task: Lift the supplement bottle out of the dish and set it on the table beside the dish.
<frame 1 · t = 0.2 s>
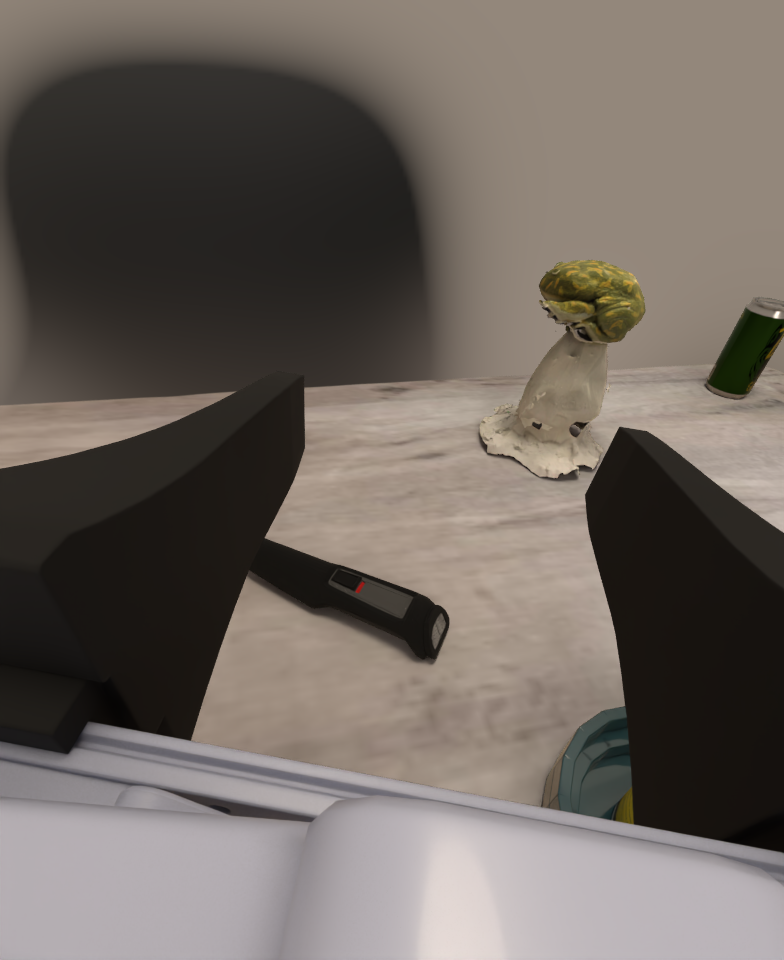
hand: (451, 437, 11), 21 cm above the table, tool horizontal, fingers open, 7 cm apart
supplement bottle: (662, 856, 23), resting on dish
green soda can: (724, 391, 66), on the table
cream tall figure: (536, 445, 51), on the table
dish: (661, 857, 23), on the table
electric trimmer: (341, 606, 33), on the table
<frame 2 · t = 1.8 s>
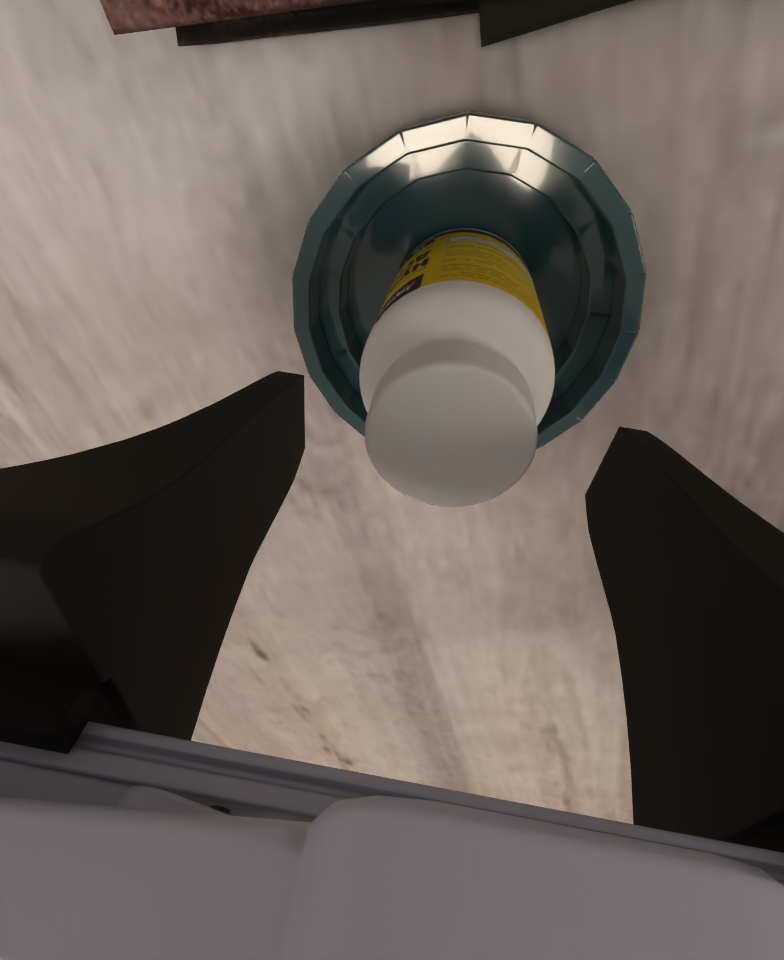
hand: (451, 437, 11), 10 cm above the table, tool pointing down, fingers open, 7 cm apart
supplement bottle: (460, 300, 18), resting on dish
dish: (460, 299, 18), on the table
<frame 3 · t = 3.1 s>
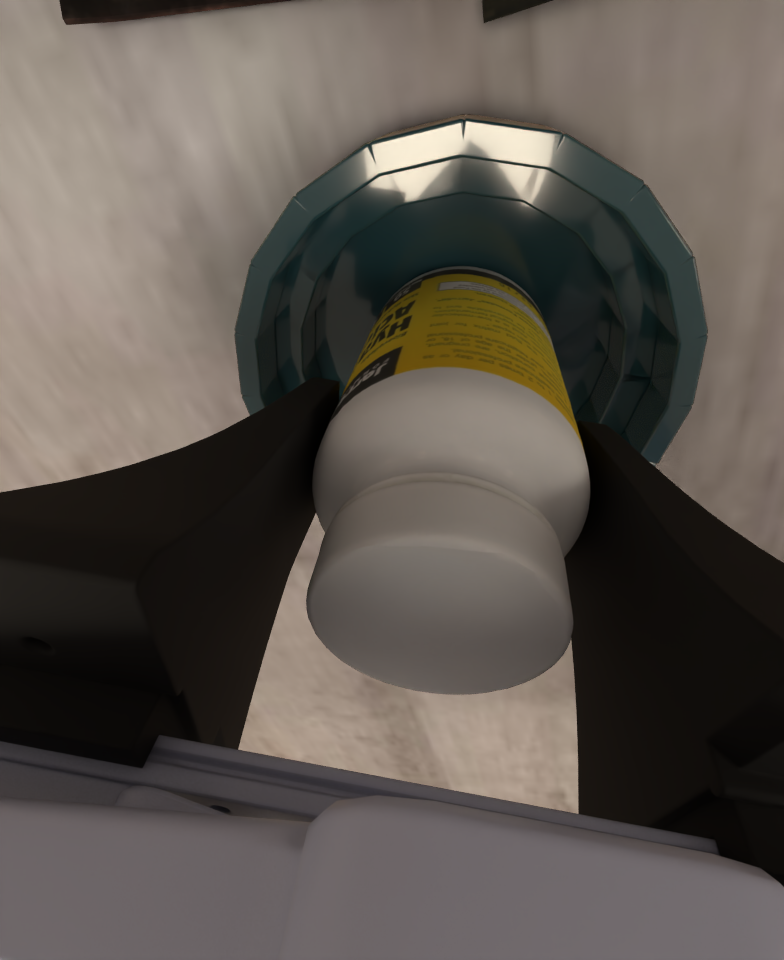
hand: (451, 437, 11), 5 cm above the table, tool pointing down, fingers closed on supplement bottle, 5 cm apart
supplement bottle: (455, 351, 15), resting on dish, touching gripper
dish: (456, 350, 15), on the table
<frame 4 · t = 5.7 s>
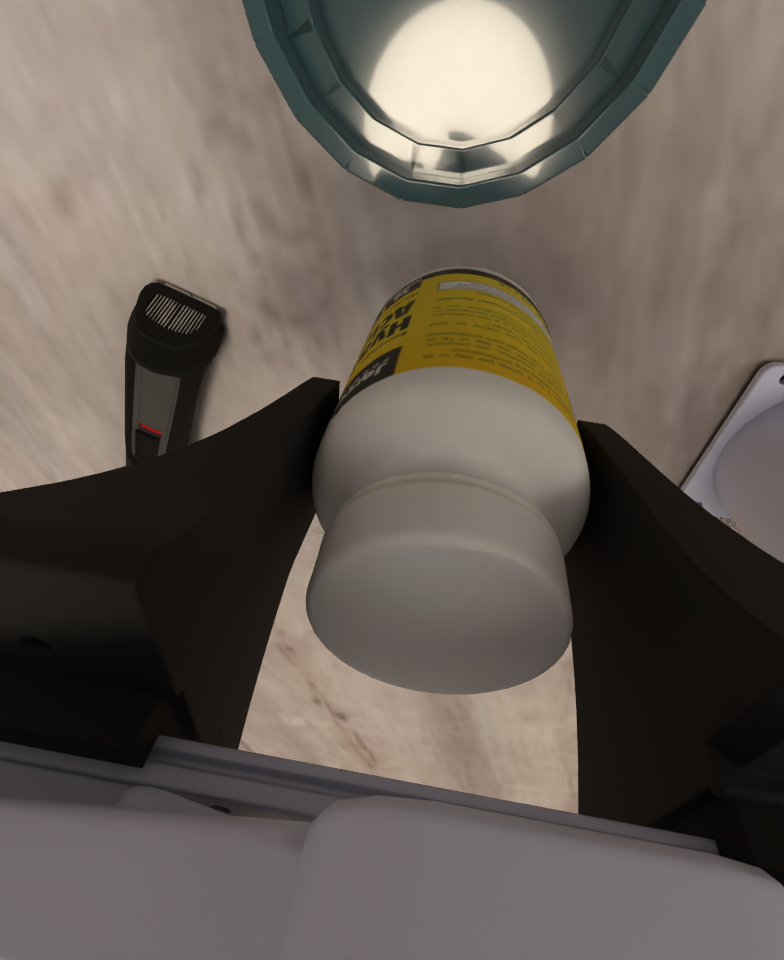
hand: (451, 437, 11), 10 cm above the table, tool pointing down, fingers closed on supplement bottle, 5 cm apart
supplement bottle: (455, 351, 15), point 6 cm above the table, touching gripper
electric trimmer: (177, 421, 25), on the table
when the fingers open (5 cm above the table, at t = 8.3 s): supplement bottle stays where it is, on the table.
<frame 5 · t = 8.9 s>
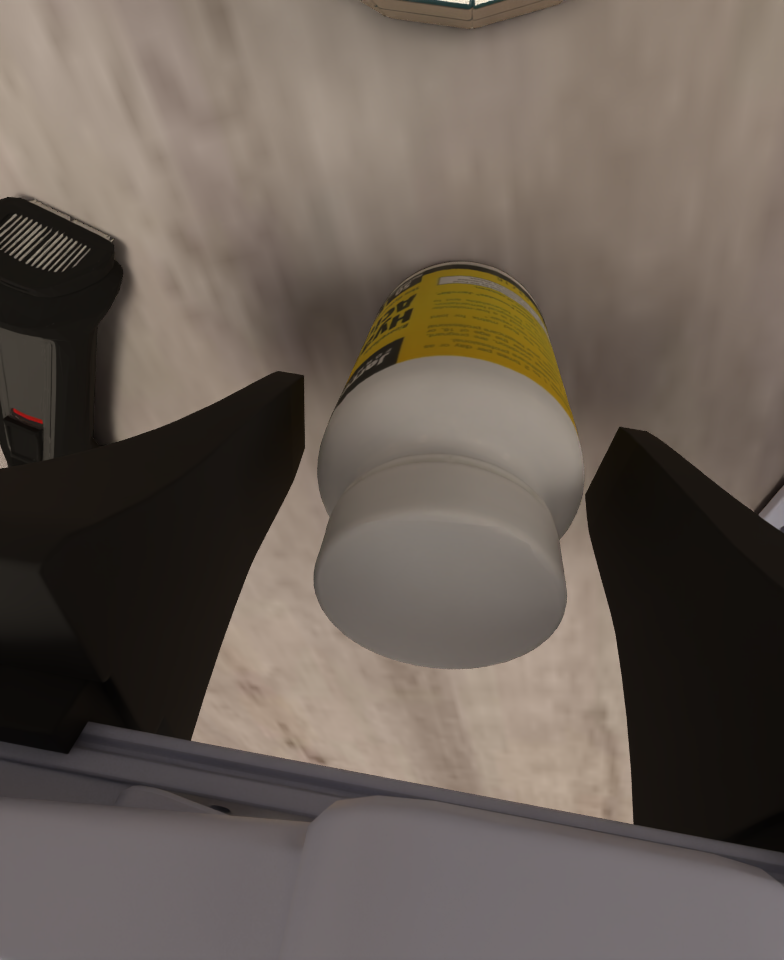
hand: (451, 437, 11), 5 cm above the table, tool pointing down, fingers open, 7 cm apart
supplement bottle: (455, 345, 15), on the table
electric trimmer: (82, 408, 19), on the table
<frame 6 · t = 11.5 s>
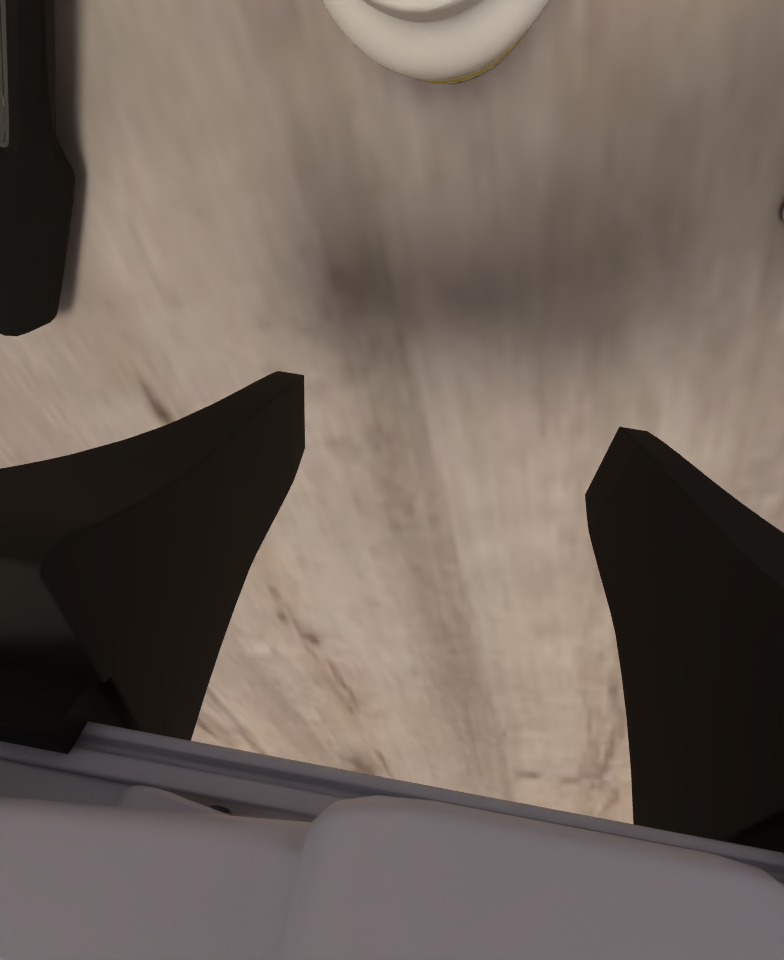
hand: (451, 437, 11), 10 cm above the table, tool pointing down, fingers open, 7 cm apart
electric trimmer: (45, 112, 17), on the table
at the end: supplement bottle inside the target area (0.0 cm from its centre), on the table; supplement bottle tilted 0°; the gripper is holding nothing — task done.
